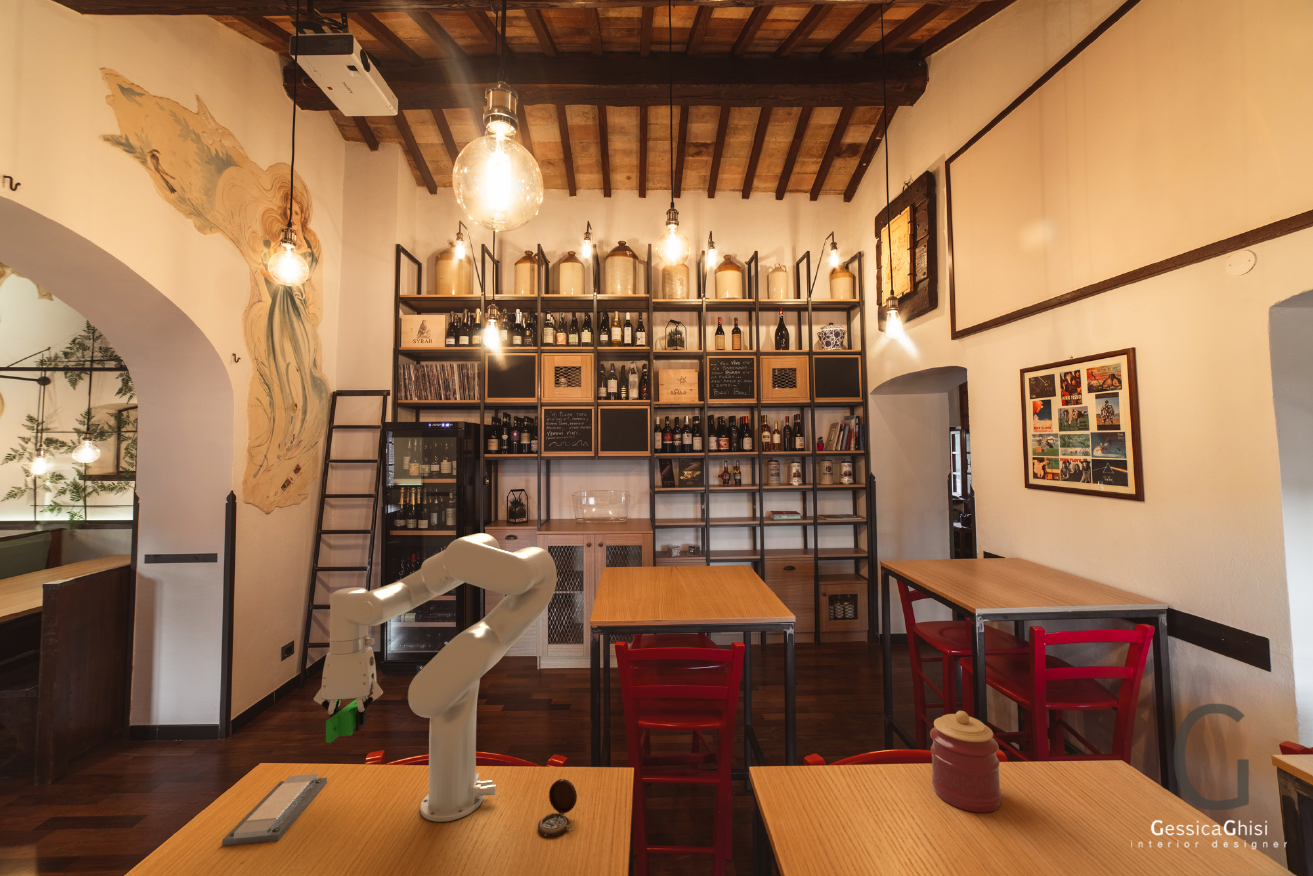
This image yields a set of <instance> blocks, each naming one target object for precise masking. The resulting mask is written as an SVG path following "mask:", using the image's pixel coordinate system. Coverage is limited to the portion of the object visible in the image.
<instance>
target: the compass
mask: <svg viewBox="0 0 1313 876" xmlns="http://www.w3.org/2000/svg"><path fill="white" fill-rule="evenodd" d="M548 798H549V803H550V805H551V807H552V808H553V809H554V810H555V811H556V813H555V812H554V813H549V814H547V815H545V816H544V817H542V819H540V821H538V823H537V831H538V833H539V834H540V835H541V836H543V837H545V836H546V838H555V836H556V837H559V836H561V835H562V834H564V833H566V832H567V831H568V832H573V831H575V830H576V829H577V825H576V824H574V823H573V824H570V820H569V818H568V817H567V816H565V814H567V813H569V812H571V811H572V810H573V809H574V807H575V806H576V804H577V800H578V795H577V790H576V788H575V786H574V784H573V783H572V782H571V781H570V780H567V779H565V778H560V779H557V780H556V781H554V782H553V783H552V785H550V788H549V791H548ZM571 826H574V827H575V828H574V829H571Z"/></svg>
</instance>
